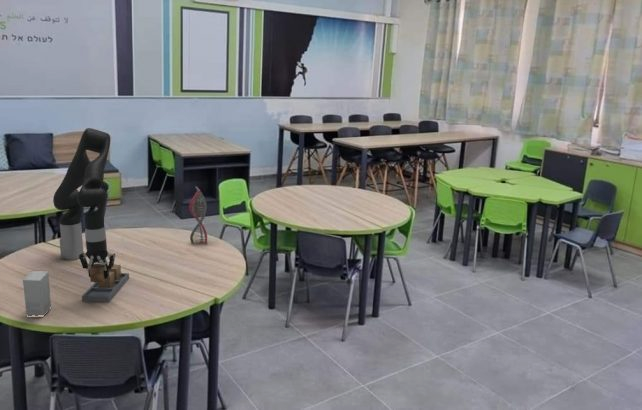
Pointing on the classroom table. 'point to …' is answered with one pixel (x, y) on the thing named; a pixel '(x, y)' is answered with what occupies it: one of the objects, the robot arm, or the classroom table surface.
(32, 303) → the skincare box
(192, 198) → the dna model
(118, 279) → the tray
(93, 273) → the block
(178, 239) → the classroom table surface
